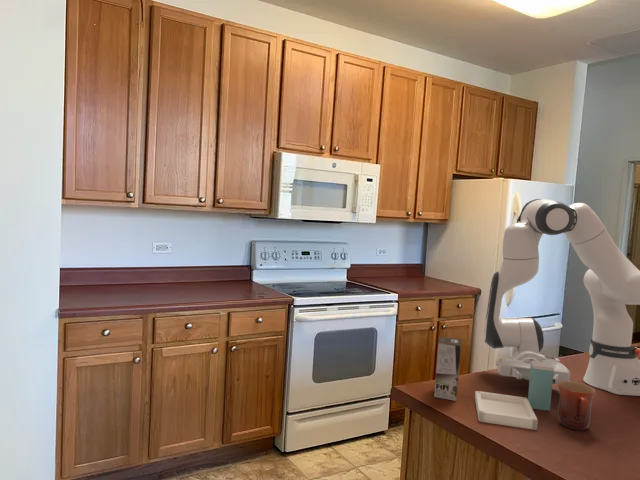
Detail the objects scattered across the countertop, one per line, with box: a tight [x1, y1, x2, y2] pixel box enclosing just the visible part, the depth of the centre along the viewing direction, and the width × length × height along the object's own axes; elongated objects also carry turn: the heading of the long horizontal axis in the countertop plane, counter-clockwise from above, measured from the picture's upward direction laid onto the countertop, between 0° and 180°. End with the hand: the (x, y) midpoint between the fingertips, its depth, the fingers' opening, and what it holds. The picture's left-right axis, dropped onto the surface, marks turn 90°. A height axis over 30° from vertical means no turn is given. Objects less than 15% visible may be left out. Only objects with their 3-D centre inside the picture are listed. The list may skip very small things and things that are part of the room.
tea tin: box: [527, 361, 554, 412], centre depth 139 cm, size 5×5×12 cm
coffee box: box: [433, 336, 462, 402], centre depth 144 cm, size 9×6×16 cm
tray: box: [474, 390, 539, 431], centre depth 132 cm, size 14×16×2 cm
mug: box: [557, 380, 597, 431], centre depth 125 cm, size 12×9×10 cm
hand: (537, 379), depth 143 cm, fingers open, 8 cm apart
